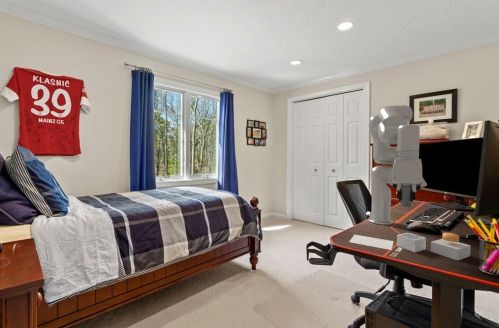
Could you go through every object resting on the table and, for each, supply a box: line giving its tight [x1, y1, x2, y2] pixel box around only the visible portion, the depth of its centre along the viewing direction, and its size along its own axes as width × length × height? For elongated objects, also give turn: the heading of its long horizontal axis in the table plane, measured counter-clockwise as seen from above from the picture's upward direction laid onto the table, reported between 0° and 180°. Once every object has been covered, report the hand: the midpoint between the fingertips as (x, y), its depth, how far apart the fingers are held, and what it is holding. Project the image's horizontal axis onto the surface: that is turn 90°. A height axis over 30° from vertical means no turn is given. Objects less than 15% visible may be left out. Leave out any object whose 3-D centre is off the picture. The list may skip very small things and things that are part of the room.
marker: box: [400, 184, 413, 208], centre depth 103 cm, size 4×4×11 cm
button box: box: [430, 238, 472, 261], centre depth 97 cm, size 9×9×4 cm
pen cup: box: [396, 232, 427, 254], centre depth 103 cm, size 7×7×5 cm
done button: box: [441, 232, 460, 243], centre depth 97 cm, size 5×5×2 cm
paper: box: [348, 234, 394, 251], centre depth 110 cm, size 16×12×1 cm
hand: (406, 200), depth 103 cm, fingers closed on marker, 3 cm apart
